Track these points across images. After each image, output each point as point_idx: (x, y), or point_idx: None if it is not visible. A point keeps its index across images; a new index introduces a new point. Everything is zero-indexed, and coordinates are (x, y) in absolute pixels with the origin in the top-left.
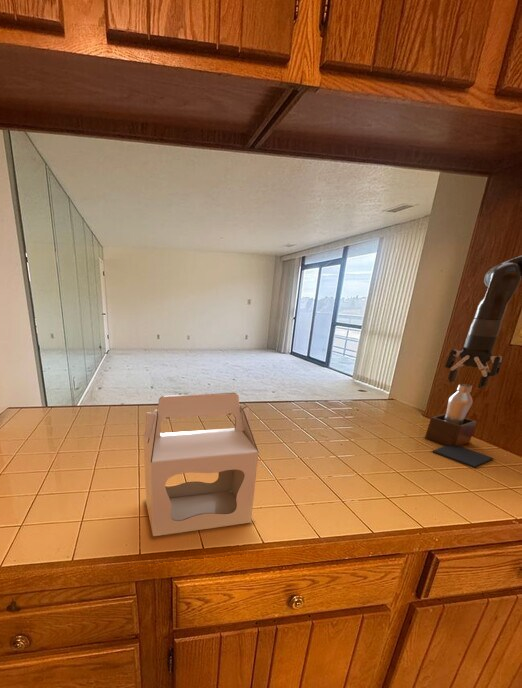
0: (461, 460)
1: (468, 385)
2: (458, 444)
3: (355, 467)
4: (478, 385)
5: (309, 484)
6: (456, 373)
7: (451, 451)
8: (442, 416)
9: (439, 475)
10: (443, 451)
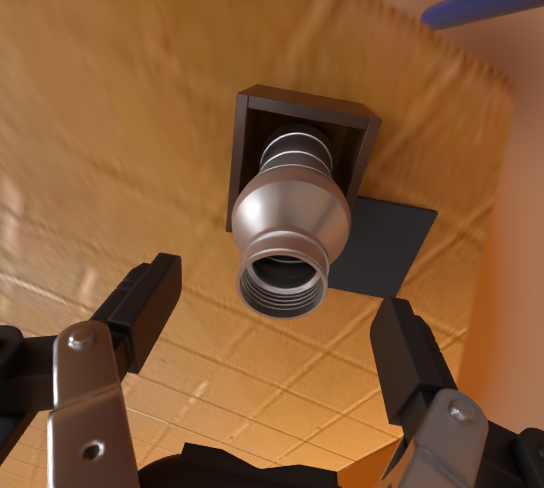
0: (364, 290)
1: (294, 254)
2: None
3: (235, 408)
4: (372, 346)
5: None
6: (147, 313)
7: None
8: (243, 160)
9: (340, 364)
10: None
